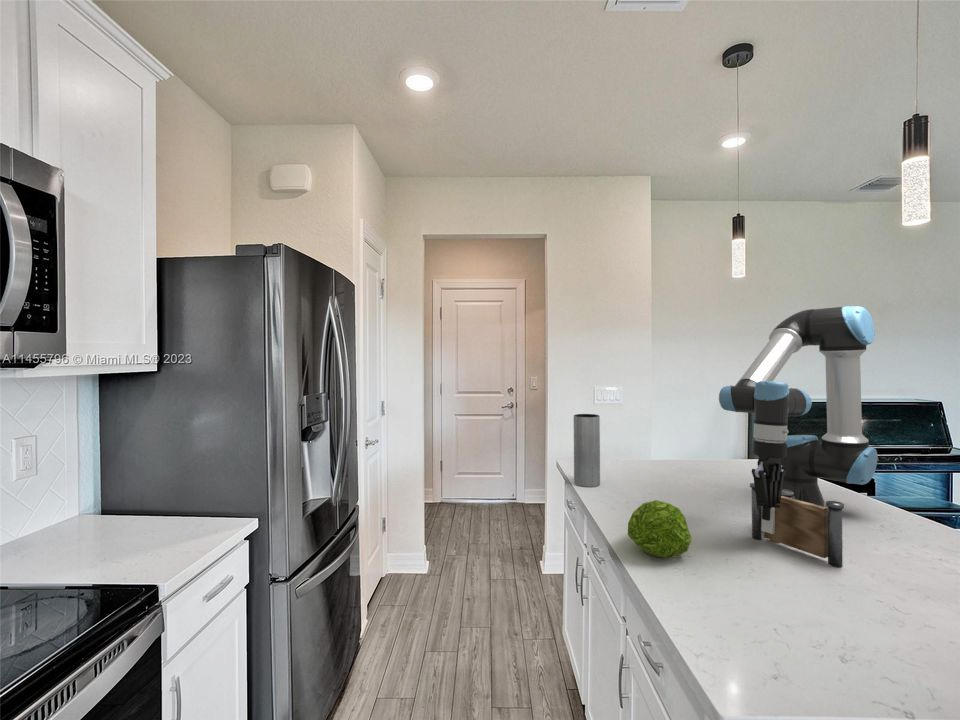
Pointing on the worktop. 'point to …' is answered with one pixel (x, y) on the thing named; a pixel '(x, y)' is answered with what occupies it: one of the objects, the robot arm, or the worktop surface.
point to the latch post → (756, 516)
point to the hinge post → (835, 533)
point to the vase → (587, 450)
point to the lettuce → (659, 529)
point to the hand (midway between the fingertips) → (767, 532)
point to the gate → (801, 526)
